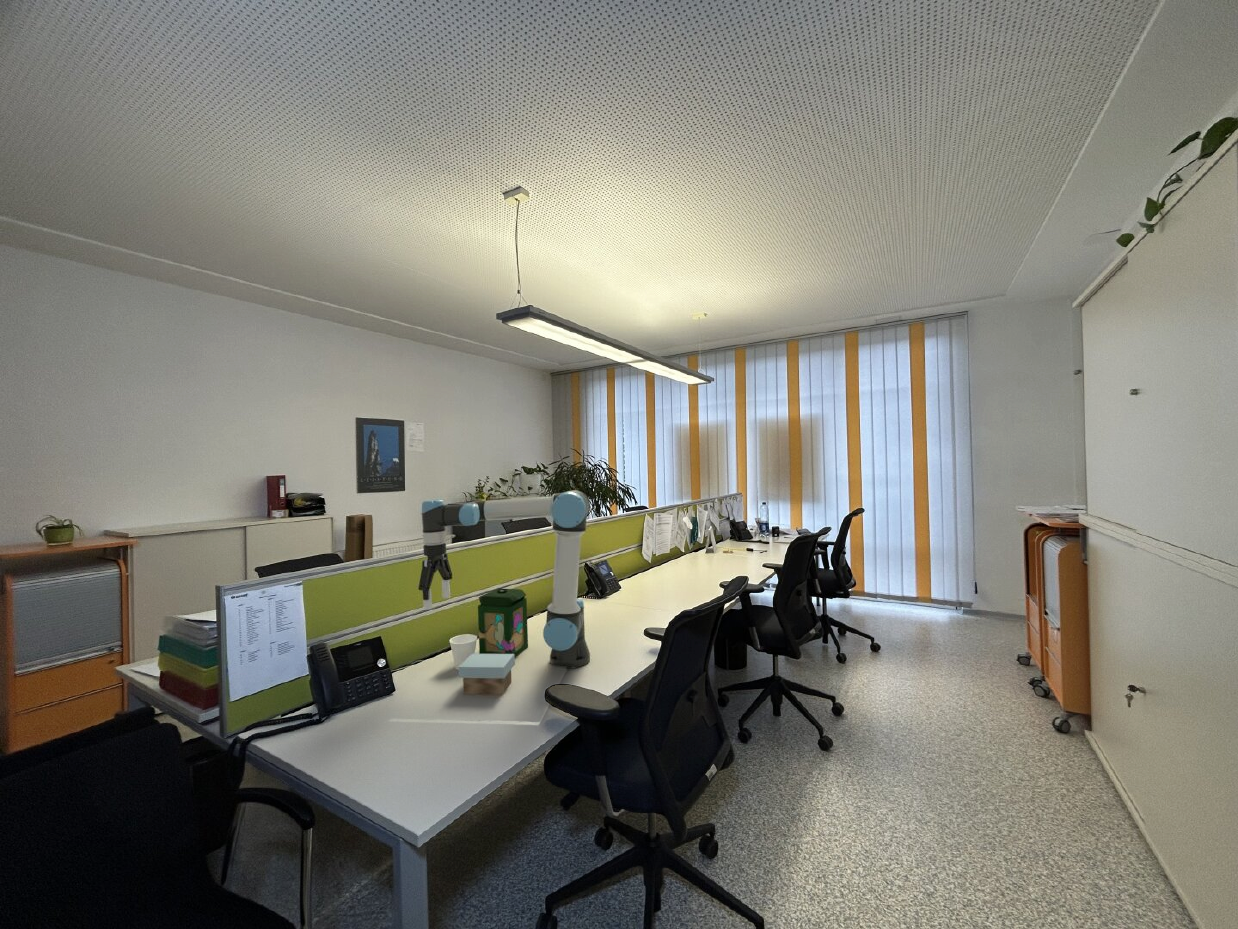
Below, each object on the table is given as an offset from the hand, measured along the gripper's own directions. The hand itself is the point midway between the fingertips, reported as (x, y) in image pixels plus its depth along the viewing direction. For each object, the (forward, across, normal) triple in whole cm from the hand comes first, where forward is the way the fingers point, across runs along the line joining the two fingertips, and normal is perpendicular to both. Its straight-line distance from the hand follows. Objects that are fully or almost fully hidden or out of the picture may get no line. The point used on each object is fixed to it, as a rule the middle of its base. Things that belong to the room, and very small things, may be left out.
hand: (437, 603), depth 175 cm
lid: (+20, +9, +21) cm, 31 cm away
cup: (+27, -8, +5) cm, 28 cm away
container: (+27, -24, +15) cm, 39 cm away
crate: (+26, +9, +21) cm, 35 cm away
